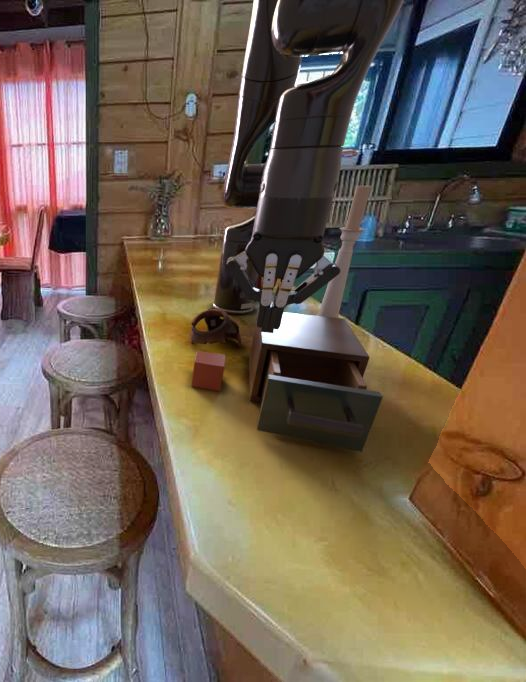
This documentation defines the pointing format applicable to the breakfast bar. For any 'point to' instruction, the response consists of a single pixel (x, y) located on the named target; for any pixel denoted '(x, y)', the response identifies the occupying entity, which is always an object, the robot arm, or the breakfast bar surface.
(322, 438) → the drawer
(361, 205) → the candlestick
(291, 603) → the breakfast bar surface
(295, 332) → the cabinet
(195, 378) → the block
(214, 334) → the brown ring bracket
